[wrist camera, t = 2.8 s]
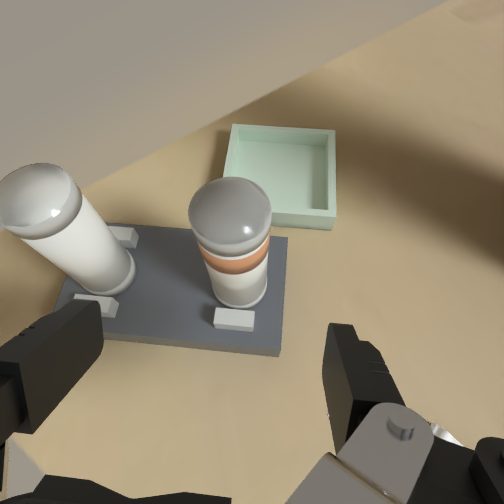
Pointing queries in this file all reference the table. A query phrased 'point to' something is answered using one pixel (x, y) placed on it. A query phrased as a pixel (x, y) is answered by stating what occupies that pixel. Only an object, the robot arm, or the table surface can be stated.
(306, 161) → the tray
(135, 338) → the fuse holder
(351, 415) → the robot arm
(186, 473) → the table surface
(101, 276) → the plain fuse
